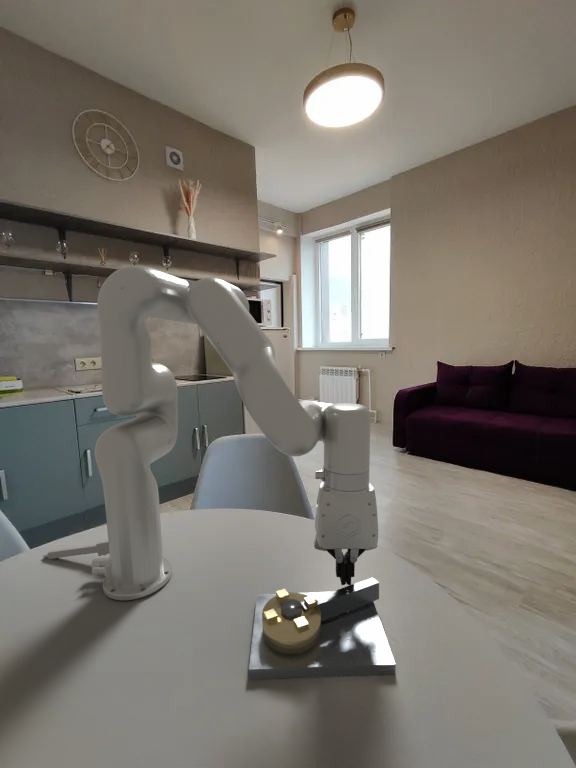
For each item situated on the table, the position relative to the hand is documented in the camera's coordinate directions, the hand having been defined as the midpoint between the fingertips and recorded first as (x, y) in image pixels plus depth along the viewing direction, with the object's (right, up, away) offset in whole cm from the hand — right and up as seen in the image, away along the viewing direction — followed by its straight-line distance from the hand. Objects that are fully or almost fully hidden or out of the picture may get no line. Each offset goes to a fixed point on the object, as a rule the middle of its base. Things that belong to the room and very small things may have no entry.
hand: (344, 579), depth 63 cm
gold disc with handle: (-4, -4, -5) cm, 7 cm away
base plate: (-5, -5, -6) cm, 9 cm away
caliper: (-54, -5, +16) cm, 56 cm away
